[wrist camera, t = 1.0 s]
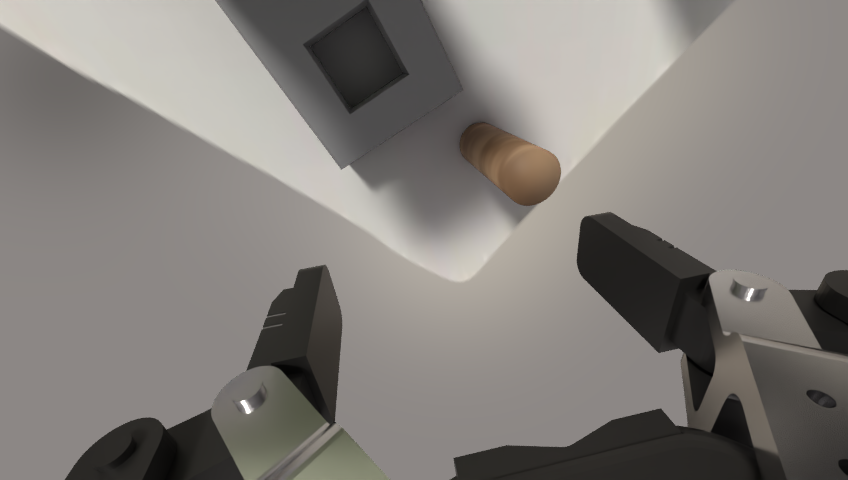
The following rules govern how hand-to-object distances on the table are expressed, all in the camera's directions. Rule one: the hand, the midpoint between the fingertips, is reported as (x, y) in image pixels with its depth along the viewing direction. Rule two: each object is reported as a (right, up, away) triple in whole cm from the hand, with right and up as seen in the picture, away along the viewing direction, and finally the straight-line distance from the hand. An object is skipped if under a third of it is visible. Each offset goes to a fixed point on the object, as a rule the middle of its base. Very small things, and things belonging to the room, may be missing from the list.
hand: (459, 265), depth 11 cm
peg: (+4, +10, +23) cm, 26 cm away
